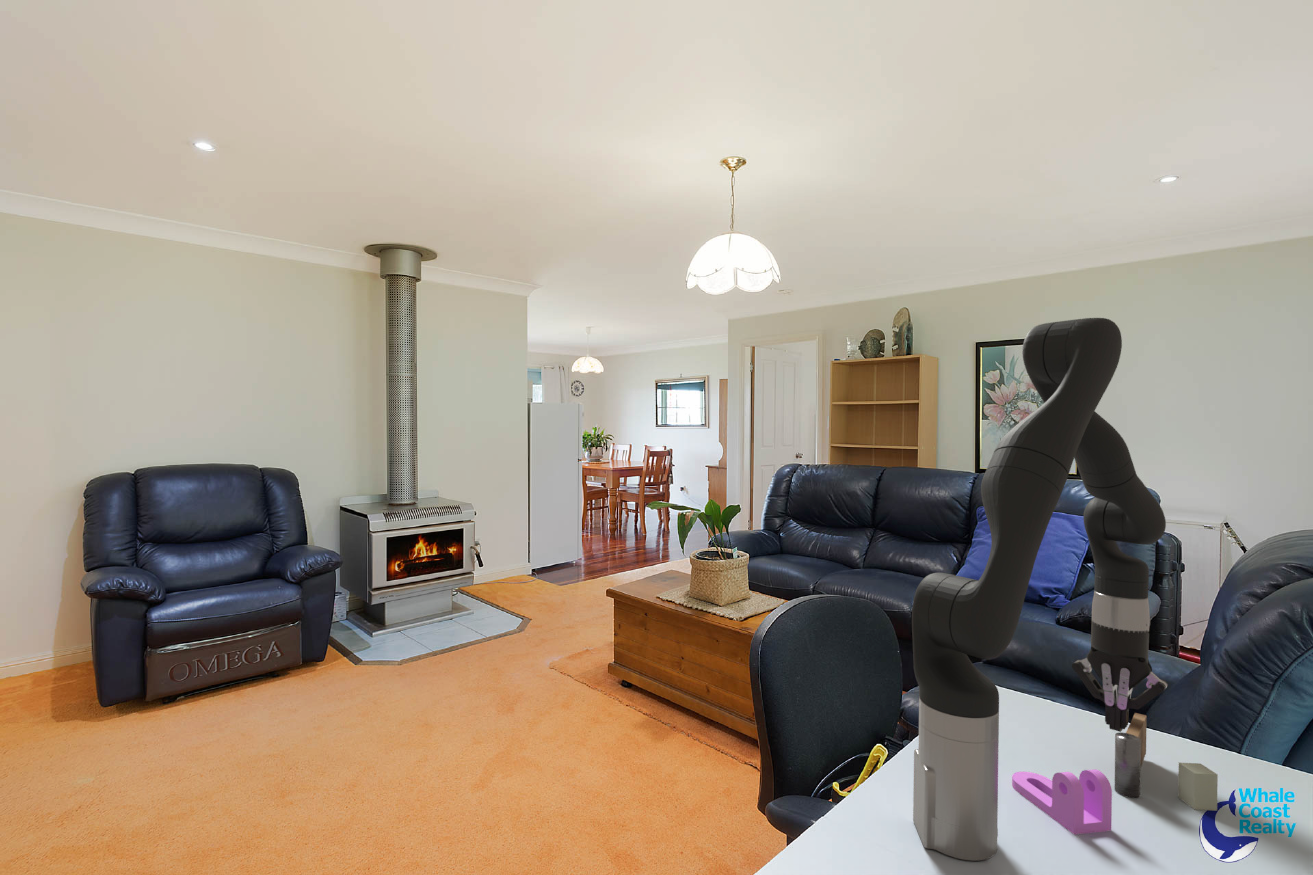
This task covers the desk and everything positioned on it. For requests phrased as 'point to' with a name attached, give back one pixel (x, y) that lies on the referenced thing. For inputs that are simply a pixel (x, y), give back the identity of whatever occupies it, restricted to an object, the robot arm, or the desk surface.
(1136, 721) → the gate
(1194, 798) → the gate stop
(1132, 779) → the hinge post
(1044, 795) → the bracket
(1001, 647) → the robot arm
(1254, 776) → the desk surface
